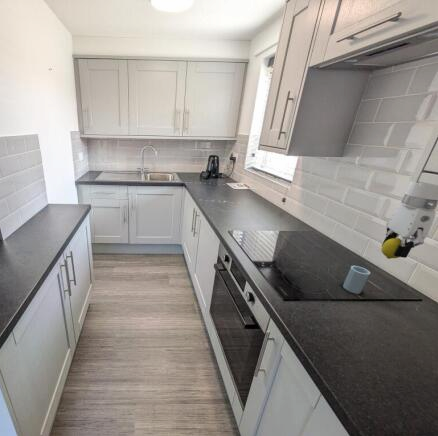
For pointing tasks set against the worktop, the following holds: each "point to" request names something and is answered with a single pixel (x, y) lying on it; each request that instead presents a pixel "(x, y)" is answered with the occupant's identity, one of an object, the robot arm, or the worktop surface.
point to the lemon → (391, 247)
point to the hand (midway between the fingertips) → (393, 251)
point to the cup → (356, 279)
